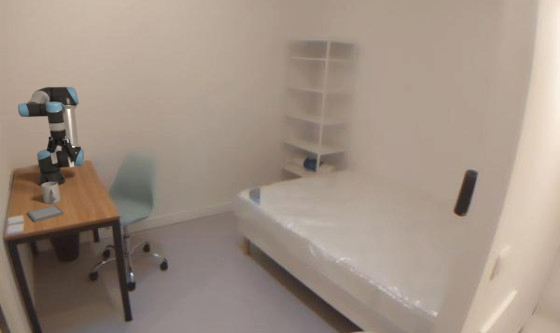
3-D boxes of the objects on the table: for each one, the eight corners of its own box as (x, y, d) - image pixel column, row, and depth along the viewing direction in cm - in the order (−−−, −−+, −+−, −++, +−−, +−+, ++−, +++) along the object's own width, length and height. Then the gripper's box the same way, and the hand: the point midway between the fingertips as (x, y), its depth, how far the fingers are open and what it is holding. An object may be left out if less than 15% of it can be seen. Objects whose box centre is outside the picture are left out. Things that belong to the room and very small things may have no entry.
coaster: (27, 214, 192) (27, 212, 191) (55, 206, 202) (55, 204, 202) (34, 222, 184) (34, 220, 183) (63, 214, 194) (63, 212, 194)
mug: (42, 200, 209) (39, 183, 206) (58, 197, 215) (55, 180, 212) (47, 207, 201) (44, 189, 198) (64, 203, 207) (61, 186, 204)
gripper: (35, 128, 197) (42, 163, 204) (67, 133, 189) (73, 170, 196) (48, 125, 204) (53, 160, 211) (79, 131, 196) (84, 166, 203)
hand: (63, 165), depth 203 cm, fingers open, 13 cm apart
